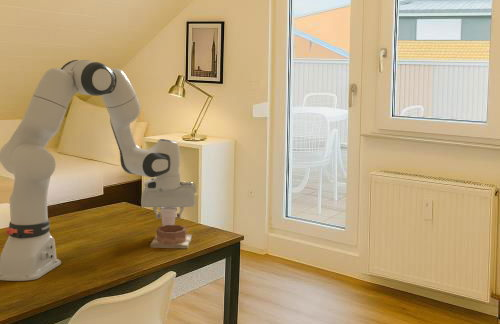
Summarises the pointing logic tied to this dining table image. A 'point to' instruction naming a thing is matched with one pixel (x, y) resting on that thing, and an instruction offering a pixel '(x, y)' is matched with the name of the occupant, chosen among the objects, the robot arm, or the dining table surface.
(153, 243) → the bottle stand
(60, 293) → the dining table surface
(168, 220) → the smoothie
